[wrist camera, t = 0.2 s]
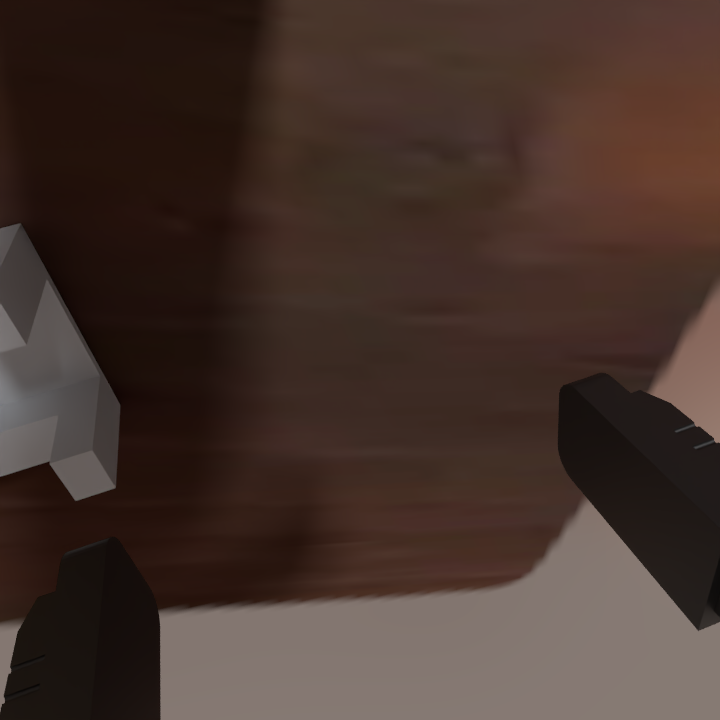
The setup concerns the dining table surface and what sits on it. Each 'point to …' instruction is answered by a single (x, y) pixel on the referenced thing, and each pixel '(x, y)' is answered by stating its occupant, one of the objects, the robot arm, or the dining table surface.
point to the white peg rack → (50, 380)
